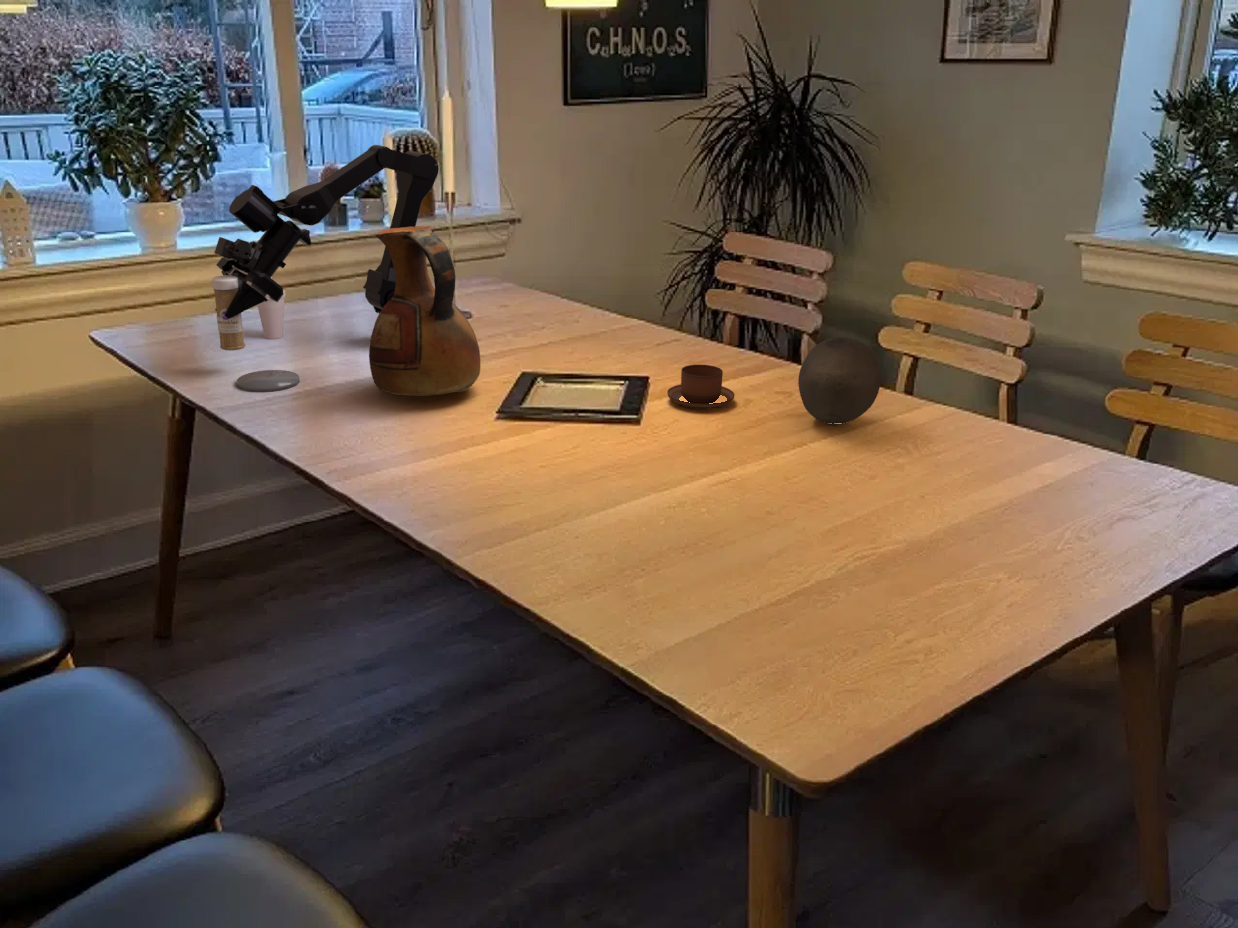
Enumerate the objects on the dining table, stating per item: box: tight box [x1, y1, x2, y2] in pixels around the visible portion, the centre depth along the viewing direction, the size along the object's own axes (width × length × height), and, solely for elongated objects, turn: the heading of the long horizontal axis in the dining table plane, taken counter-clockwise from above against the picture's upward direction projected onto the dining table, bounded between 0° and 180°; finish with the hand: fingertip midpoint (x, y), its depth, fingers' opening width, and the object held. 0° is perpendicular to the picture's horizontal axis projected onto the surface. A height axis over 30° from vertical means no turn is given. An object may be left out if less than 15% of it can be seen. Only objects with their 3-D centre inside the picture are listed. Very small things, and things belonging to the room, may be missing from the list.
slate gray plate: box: [236, 369, 300, 393], centre depth 205 cm, size 11×11×1 cm
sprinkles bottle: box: [211, 275, 246, 352], centre depth 207 cm, size 5×5×13 cm
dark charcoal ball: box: [797, 336, 882, 425], centre depth 187 cm, size 14×14×15 cm
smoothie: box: [256, 276, 286, 340], centre depth 232 cm, size 6×6×14 cm
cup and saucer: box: [666, 364, 735, 410], centre depth 199 cm, size 12×12×6 cm
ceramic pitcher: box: [368, 225, 481, 397], centre depth 196 cm, size 20×20×30 cm
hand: (221, 314), depth 206 cm, fingers closed on sprinkles bottle, 4 cm apart
